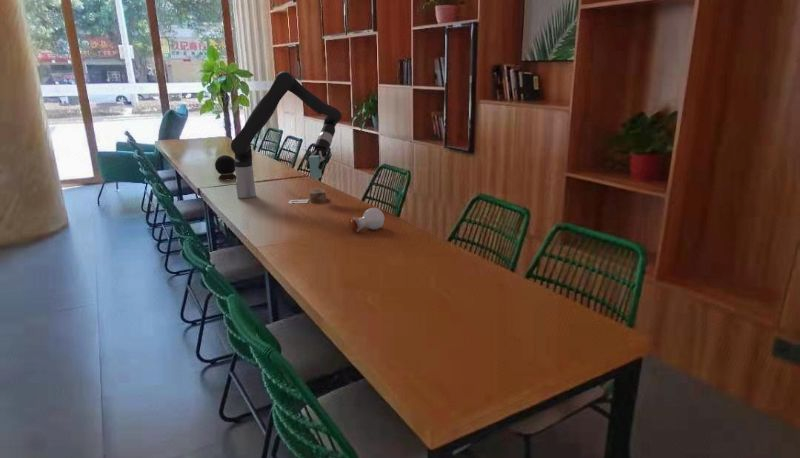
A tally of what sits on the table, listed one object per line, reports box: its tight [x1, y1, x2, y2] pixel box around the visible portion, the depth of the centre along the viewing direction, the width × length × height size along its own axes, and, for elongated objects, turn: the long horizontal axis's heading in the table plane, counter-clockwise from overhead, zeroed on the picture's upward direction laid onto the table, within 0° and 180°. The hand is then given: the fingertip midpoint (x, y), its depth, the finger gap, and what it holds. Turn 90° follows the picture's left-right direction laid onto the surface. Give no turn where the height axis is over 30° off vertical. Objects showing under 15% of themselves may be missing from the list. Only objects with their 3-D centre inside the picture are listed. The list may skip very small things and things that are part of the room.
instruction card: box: [287, 198, 310, 205], centre depth 273 cm, size 10×7×1 cm
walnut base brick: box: [308, 188, 327, 203], centre depth 275 cm, size 8×8×5 cm
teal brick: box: [309, 155, 323, 179], centre depth 270 cm, size 5×5×11 cm
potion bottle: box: [348, 207, 385, 234], centre depth 221 cm, size 9×10×15 cm
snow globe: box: [214, 154, 236, 181], centre depth 337 cm, size 13×13×15 cm
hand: (313, 168), depth 269 cm, fingers closed on teal brick, 6 cm apart
